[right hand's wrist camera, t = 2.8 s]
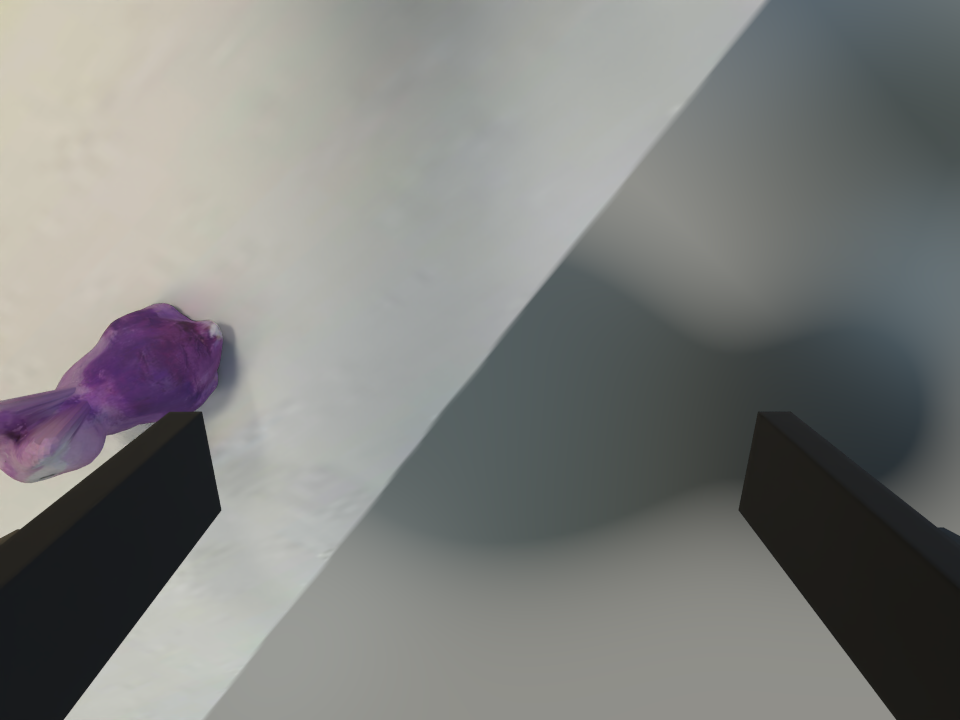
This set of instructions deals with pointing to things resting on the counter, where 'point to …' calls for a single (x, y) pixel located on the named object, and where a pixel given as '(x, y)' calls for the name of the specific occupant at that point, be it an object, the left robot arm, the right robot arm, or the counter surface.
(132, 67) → the counter surface
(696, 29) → the counter surface
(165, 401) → the figurine
